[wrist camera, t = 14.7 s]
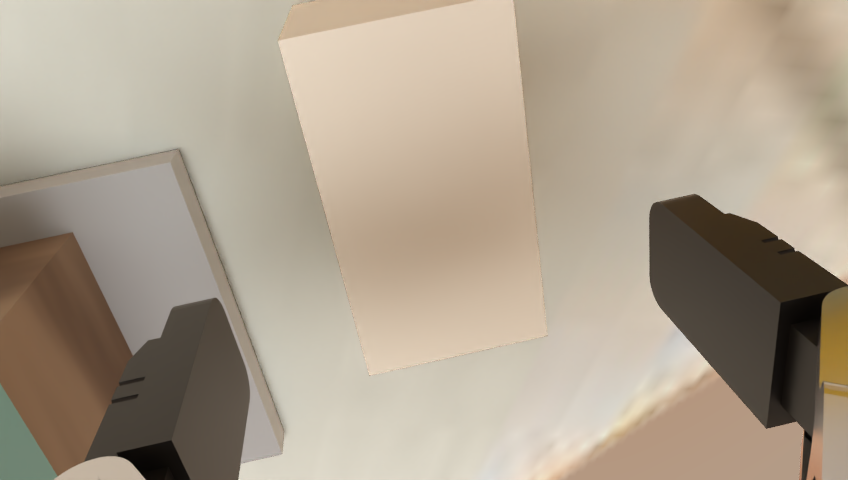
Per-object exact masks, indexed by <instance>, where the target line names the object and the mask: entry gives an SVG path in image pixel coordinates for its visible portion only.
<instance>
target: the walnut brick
mask: <svg viewBox="0 0 848 480" xmlns="http://www.w3.org/2000/svg"><path fill="white" fill-rule="evenodd" d="M132 357H133V355H132V353H131V351H130V349H129V346H128V344H127V342H126V340H125V338H124V336H123V334H122V332H121V330H120V328H119V326H118V324H117V322H116V320H115V318H114V316H113V314H112V312H111V310H110V308H109V305H108V303H107V301H106V299H105V297H104V295H103V293H102V291H101V289H100V287H99V285H98V283H97V281H96V279H95V277H94V275H93V273H92V271H91V269H90V267H89V264H88V262H87V260H86V258H85V256H84V254H83V252H82V250H81V248H80V246H79V244H78V242H77V240H76V238H75V236H74V234H73V232H71V233H67V234H62V235H57V236H53V237H48V238H43V239H38V240H34V241H29V242H24V243H20V244H15V245H10V246H5V247H1V248H0V384H1V385H2V387H3V389H4V390H5V392H6V394H7V395H8V397H9V398H10V400H11V402H12V403H13V405H14V406H15V408H16V410H17V411H18V413H19V415H20V416H21V418H22V419H23V421H24V423H25V424H26V426H27V428H28V429H29V431H30V432H31V434H32V436H33V437H34V439H35V440H36V442H37V444H38V445H39V447H40V449H41V450H42V452H43V453H44V455H45V457H46V458H47V460H48V461H49V463H50V465H51V466H52V468H53V470H54V471H55V473H56V474H57V476H59V475H61V474H62V473H63V472H65V471H67V470H69V469H70V468H72V467H74V466H76V465H78V464H81V463H83V462H84V461H85V458H86V456H87V454H88V451H89V449H90V447H91V445H92V442H93V440H94V438H95V435H96V433H97V431H98V429H99V426H100V424H101V422H102V419H103V417H104V415H105V413H106V410H107V408H108V406H109V405H110V404H112V402H111V399H112V397H113V394H114V392H115V390H116V388H117V387H118V386H119V381H120V378H121V376H122V374H123V372H124V369H125V367H126V365H127V362H128V361H129V360H130V359H131V358H132Z"/></svg>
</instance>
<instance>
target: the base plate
mask: <svg viewBox="0 0 848 480" xmlns="http://www.w3.org/2000/svg"><path fill="white" fill-rule="evenodd" d="M71 232H73V234H74V236H75V238H76V240H77V242H78V244H79V246H80V248H81V250H82V252H83V254H84V256H85V258H86V260H87V262H88V264H89V267H90V269H91V271H92V273H93V275H94V277H95V279H96V281H97V283H98V285H99V287H100V289H101V291H102V293H103V295H104V297H105V299H106V301H107V303H108V305H109V308H110V310H111V312H112V314H113V316H114V318H115V320H116V322H117V324H118V326H119V328H120V330H121V332H122V334H123V336H124V338H125V340H126V342H127V344H128V346H129V349H130V351H131V353H132V355H134V354H135V353H136V352H137V351H138V350H139V349H140V348H141V347H142V346H143V345H144V344H145V343H146V342H147V341H148V340H152V339H156V338H160V337H161V335H162V332H163V330H164V327H165V324H166V322H167V319H168V317H169V314H170V311H171V309H172V308H173V307H175V306H179V305H183V304H188V303H192V302H197V301H202V300H206V299H211V298H217V299H218V300H219V301H220V302H221V304H222V306H223V308H224V310H225V313H226V316H227V318H228V321H229V324H230V326H231V329H232V332H233V334H234V337H235V340H236V342H237V345H238V348H239V350H240V353H241V356H242V358H243V361H244V364H245V367H246V370H247V374H248V379H249V385H250V403H249V409H248V416H247V423H246V430H245V436H244V443H243V450H242V457H241V463H246V462H250V461H254V460H259V459H263V458H268V457H272V456H276V455H281V454H282V451H283V440H284V430H283V427H282V424H281V422H280V419H279V416H278V414H277V411H276V408H275V406H274V403H273V400H272V398H271V395H270V392H269V390H268V387H267V384H266V382H265V379H264V376H263V374H262V371H261V368H260V365H259V363H258V360H257V357H256V355H255V352H254V349H253V347H252V344H251V341H250V339H249V336H248V333H247V331H246V328H245V325H244V323H243V320H242V317H241V315H240V312H239V309H238V307H237V304H236V301H235V299H234V296H233V293H232V291H231V288H230V285H229V283H228V280H227V277H226V275H225V272H224V269H223V266H222V264H221V261H220V258H219V256H218V253H217V250H216V248H215V245H214V242H213V240H212V237H211V234H210V232H209V229H208V226H207V224H206V221H205V218H204V216H203V213H202V210H201V208H200V205H199V202H198V200H197V197H196V194H195V192H194V189H193V186H192V184H191V181H190V178H189V176H188V173H187V170H186V167H185V165H184V162H183V159H182V157H181V154H180V151H179V149H177V150H172V151H167V152H162V153H157V154H153V155H148V156H143V157H138V158H133V159H129V160H124V161H119V162H114V163H109V164H105V165H100V166H95V167H90V168H85V169H81V170H76V171H71V172H66V173H61V174H57V175H52V176H47V177H42V178H37V179H33V180H28V181H23V182H18V183H14V184H9V185H4V186H0V248H1V247H5V246H10V245H15V244H20V243H24V242H29V241H34V240H38V239H43V238H48V237H53V236H57V235H62V234H67V233H71ZM241 463H240V464H241Z"/></svg>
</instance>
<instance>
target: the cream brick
mask: <svg viewBox="0 0 848 480" xmlns="http://www.w3.org/2000/svg"><path fill="white" fill-rule="evenodd" d="M278 44H279V47H280V51H281V55H282V58H283V62H284V66H285V69H286V73H287V77H288V80H289V84H290V88H291V91H292V95H293V98H294V102H295V106H296V109H297V113H298V117H299V120H300V124H301V128H302V131H303V135H304V139H305V142H306V146H307V150H308V153H309V157H310V161H311V164H312V168H313V172H314V175H315V179H316V183H317V186H318V190H319V193H320V197H321V201H322V204H323V208H324V212H325V215H326V219H327V223H328V226H329V230H330V234H331V237H332V241H333V245H334V248H335V252H336V256H337V259H338V263H339V267H340V270H341V274H342V277H343V281H344V285H345V288H346V292H347V296H348V299H349V303H350V307H351V310H352V314H353V318H354V321H355V325H356V329H357V332H358V336H359V340H360V343H361V347H362V351H363V354H364V358H365V361H366V365H367V369H368V372H369V376H371V375H375V374H380V373H384V372H389V371H393V370H398V369H402V368H407V367H411V366H416V365H420V364H425V363H429V362H433V361H438V360H442V359H447V358H451V357H456V356H460V355H465V354H469V353H474V352H478V351H483V350H487V349H491V348H496V347H500V346H505V345H509V344H514V343H518V342H523V341H527V340H532V339H536V338H541V337H545V336H548V335H547V325H546V315H545V305H544V296H543V286H542V276H541V266H540V256H539V246H538V236H537V227H536V217H535V207H534V197H533V187H532V177H531V168H530V158H529V148H528V138H527V128H526V118H525V108H524V99H523V89H522V79H521V69H520V59H519V49H518V39H517V30H516V20H515V10H514V0H317V1H312V2H307V3H302V4H297V5H292V8H291V10H290V12H289V15H288V17H287V19H286V22H285V24H284V27H283V29H282V31H281V34H280V36H279V39H278Z"/></svg>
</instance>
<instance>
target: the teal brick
mask: <svg viewBox="0 0 848 480" xmlns="http://www.w3.org/2000/svg"><path fill="white" fill-rule="evenodd" d="M56 477H58V476H57V474H56V473H55V471H54V470H53V468H52V466H51V465H50V463H49V461H48V460H47V458H46V457H45V455H44V453H43V452H42V450H41V449H40V447H39V445H38V444H37V442H36V440H35V439H34V437H33V436H32V434H31V432H30V431H29V429H28V428H27V426H26V424H25V423H24V421H23V419H22V418H21V416H20V415H19V413H18V411H17V410H16V408H15V406H14V405H13V403H12V402H11V400H10V398H9V397H8V395H7V394H6V392H5V390H4V389H3V387H2V385H1V384H0V480H53V479H55V478H56Z"/></svg>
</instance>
